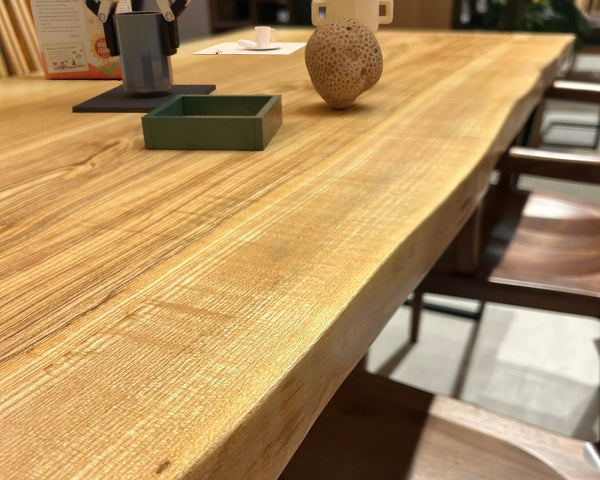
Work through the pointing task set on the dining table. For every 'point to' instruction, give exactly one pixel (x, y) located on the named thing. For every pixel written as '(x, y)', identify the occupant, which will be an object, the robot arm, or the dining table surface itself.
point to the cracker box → (74, 40)
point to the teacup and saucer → (254, 45)
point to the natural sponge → (343, 61)
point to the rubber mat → (137, 99)
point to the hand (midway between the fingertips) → (144, 53)
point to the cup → (142, 52)
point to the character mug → (354, 11)
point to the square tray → (213, 122)
